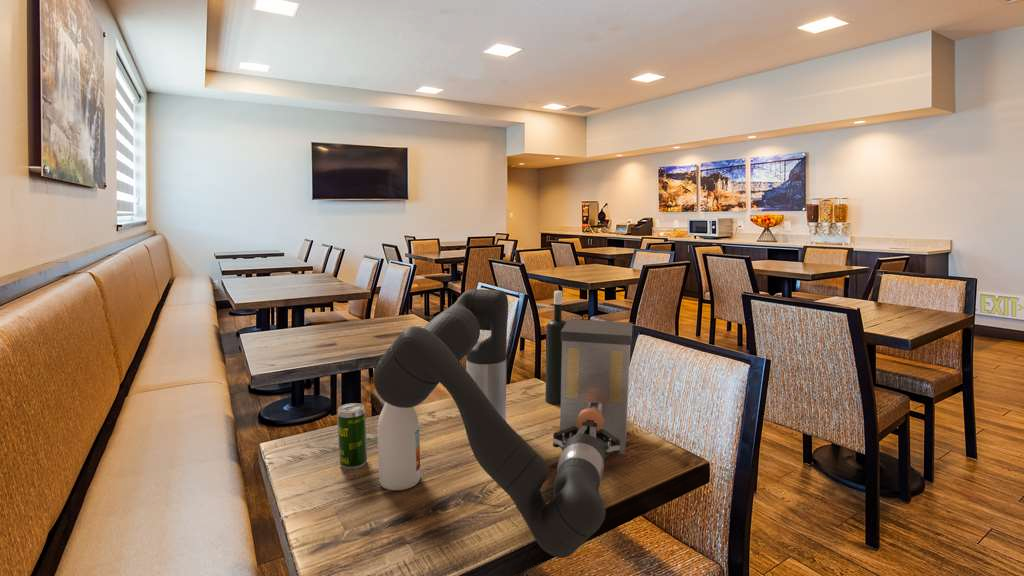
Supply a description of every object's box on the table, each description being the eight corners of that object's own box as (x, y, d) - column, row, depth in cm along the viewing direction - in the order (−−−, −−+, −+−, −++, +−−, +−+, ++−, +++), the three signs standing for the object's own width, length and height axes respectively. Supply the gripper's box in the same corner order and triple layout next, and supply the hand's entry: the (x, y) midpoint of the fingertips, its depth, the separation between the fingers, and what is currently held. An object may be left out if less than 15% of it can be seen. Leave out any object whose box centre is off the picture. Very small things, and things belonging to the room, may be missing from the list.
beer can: (357, 455, 114) (355, 400, 112) (372, 463, 110) (370, 407, 108) (334, 464, 110) (331, 408, 108) (349, 473, 106) (347, 415, 104)
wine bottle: (568, 398, 148) (571, 289, 143) (564, 405, 142) (567, 293, 138) (547, 395, 149) (549, 288, 145) (543, 403, 144) (545, 292, 139)
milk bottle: (411, 494, 99) (408, 389, 96) (372, 489, 100) (368, 386, 97) (426, 473, 106) (424, 375, 103) (389, 469, 108) (386, 373, 105)
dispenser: (626, 455, 115) (631, 335, 110) (558, 447, 118) (560, 331, 114) (627, 431, 127) (632, 322, 123) (566, 424, 130) (568, 319, 126)
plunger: (602, 437, 108) (603, 412, 107) (576, 434, 109) (577, 410, 109) (606, 411, 122) (607, 389, 121) (583, 409, 123) (584, 387, 122)
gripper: (542, 480, 94) (557, 438, 110) (619, 490, 91) (623, 445, 107) (543, 439, 93) (558, 403, 109) (621, 448, 90) (624, 409, 106)
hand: (590, 424), depth 108 cm, fingers closed
